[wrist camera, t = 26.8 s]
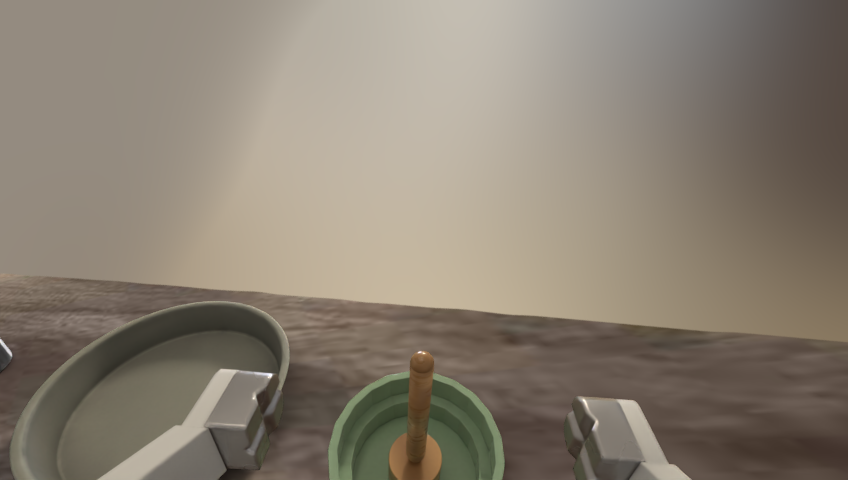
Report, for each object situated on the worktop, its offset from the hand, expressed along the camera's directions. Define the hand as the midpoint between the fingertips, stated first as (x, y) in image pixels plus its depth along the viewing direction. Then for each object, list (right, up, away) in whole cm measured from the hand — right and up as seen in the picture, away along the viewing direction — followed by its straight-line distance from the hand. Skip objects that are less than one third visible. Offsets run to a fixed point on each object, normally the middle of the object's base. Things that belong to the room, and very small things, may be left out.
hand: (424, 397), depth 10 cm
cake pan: (-28, -14, +32) cm, 44 cm away
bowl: (-1, -19, +26) cm, 32 cm away
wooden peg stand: (-1, -18, +26) cm, 32 cm away
